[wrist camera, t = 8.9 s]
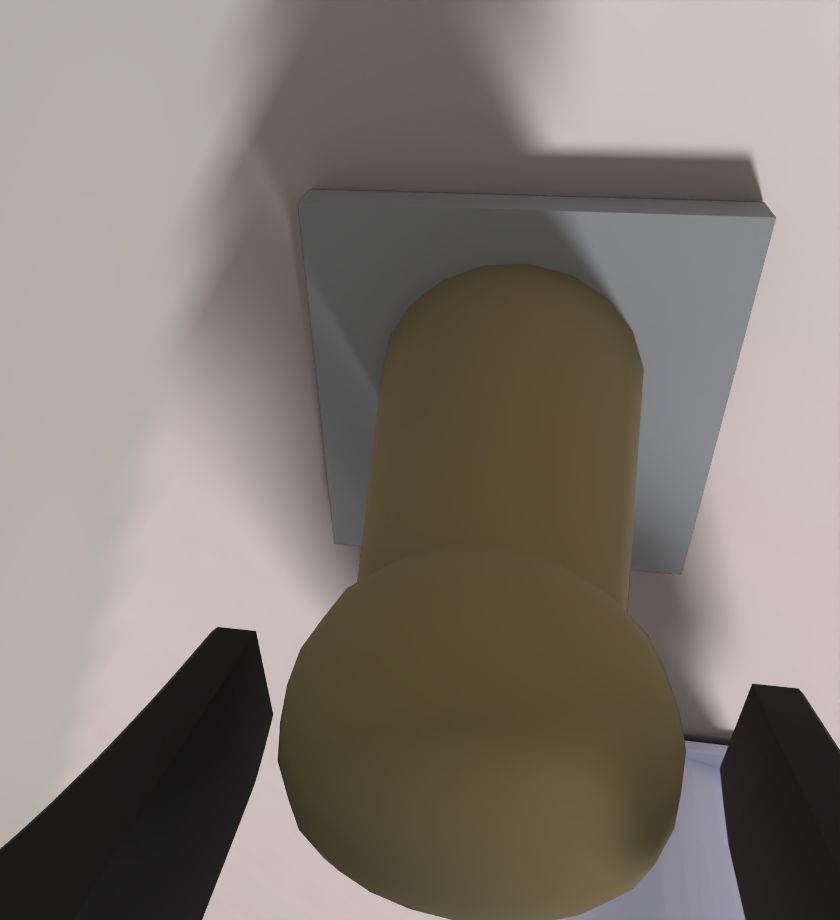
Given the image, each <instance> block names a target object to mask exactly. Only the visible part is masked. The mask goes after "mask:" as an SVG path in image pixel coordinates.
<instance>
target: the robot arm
mask: <svg viewBox="0 0 840 920" xmlns="http://www.w3.org/2000/svg"><path fill="white" fill-rule="evenodd" d="M272 717H273V712H272V707H271V702H270V697H269V692H268V687H267V683H266V678H265V673H264V668H263V663H262V659H261V654H260V649H259V644H258V639H257V634H256V631H250V630H240V629H231V628H221V627H217V628H216V629H215V630H213V631H212V632H211V633H210V634H209V635H208V637H207V638H206V639H205V640H204V641H203V642H202V644H201V645H200V646H199V647H198V648H197V649H196V650H195V652H194V653H193V654H192V655H191V656H190V657H189V659H188V660H187V661H186V662H185V663H184V664H183V665H182V667H181V668H180V669H179V670H178V671H177V672H176V673H175V675H174V676H173V677H172V678H171V679H170V680H169V681H168V682H167V684H166V685H165V686H164V687H163V688H162V689H161V690H160V691H159V693H158V694H157V695H156V696H155V697H154V698H153V699H152V700H151V701H150V703H149V704H148V705H147V706H146V707H145V708H144V709H143V710H142V711H141V712H140V713H139V714H138V715H137V716H136V718H135V719H134V720H133V721H132V722H131V723H130V724H129V725H128V726H127V727H126V728H125V729H124V730H123V731H122V732H121V734H120V735H119V736H118V737H117V738H116V739H115V740H114V741H113V742H112V743H111V744H110V745H109V746H108V747H107V748H106V749H105V750H104V751H103V752H102V753H101V754H100V755H99V757H98V758H97V759H96V760H94V761H93V762H92V763H91V764H90V765H89V766H88V767H87V768H86V769H85V770H84V771H83V772H82V773H81V774H80V775H79V776H78V777H77V778H76V779H75V780H74V781H73V782H72V783H71V784H70V785H69V786H68V787H67V788H66V789H65V790H64V791H63V792H62V793H61V794H60V795H59V796H58V797H57V798H56V799H55V800H54V801H53V802H52V803H51V804H49V805H48V806H47V807H46V808H45V809H44V810H43V811H42V812H41V813H40V814H39V815H38V816H37V817H35V818H34V819H33V820H32V821H31V822H30V823H29V824H28V825H27V826H26V827H25V828H24V829H22V830H21V831H20V832H19V833H18V834H17V835H16V836H14V837H13V838H12V839H11V840H10V841H9V842H8V843H7V844H5V845H4V846H3V847H2V848H1V849H0V920H202V918H203V916H204V913H205V911H206V908H207V906H208V903H209V901H210V898H211V895H212V893H213V890H214V888H215V885H216V883H217V880H218V877H219V875H220V872H221V870H222V867H223V865H224V862H225V860H226V857H227V854H228V852H229V849H230V847H231V844H232V842H233V839H234V836H235V834H236V831H237V829H238V826H239V823H240V821H241V818H242V816H243V813H244V810H245V808H246V805H247V803H248V800H249V797H250V795H251V792H252V789H253V787H254V784H255V781H256V778H257V774H258V771H259V767H260V763H261V760H262V756H263V752H264V749H265V745H266V741H267V737H268V733H269V729H270V725H271V721H272ZM685 746H686V757H685V766H684V774H683V782H682V791H681V797H680V802H679V807H678V812H677V817H676V823H675V828H674V830H673V832H672V834H671V836H670V838H669V840H668V841H667V843H666V845H665V847H664V849H663V851H662V853H661V854H660V856H659V858H658V860H657V862H656V864H655V865H654V866H653V867H652V868H651V870H650V871H649V872H648V873H647V874H646V875H645V876H644V877H643V878H642V880H641V881H640V882H639V883H638V884H637V885H636V886H635V887H634V888H633V890H631V891H629V892H627V893H625V894H623V895H621V896H619V897H617V898H615V899H613V900H611V901H608V902H606V903H604V904H602V905H600V906H598V907H596V908H594V909H592V910H590V911H587V912H585V913H583V914H580V915H577V916H572V917H568V918H563V919H559V920H840V749H839V748H838V746H837V745H836V743H835V742H834V740H833V739H832V737H831V736H830V734H829V733H828V731H827V730H826V728H825V727H824V725H823V723H822V722H821V720H820V719H819V717H818V716H817V714H816V713H815V711H814V710H813V708H812V706H811V705H810V703H809V702H808V700H807V699H806V697H805V696H804V694H803V693H802V692H801V691H800V690H799V689H797V688H787V687H778V686H768V685H759V684H752V686H751V688H750V691H749V694H748V696H747V699H746V701H745V704H744V707H743V709H742V712H741V714H740V717H739V719H738V722H737V725H736V727H735V730H734V732H733V735H732V738H731V740H730V743H729V745H728V746H727V745H719V744H710V743H701V742H693V741H685Z"/></svg>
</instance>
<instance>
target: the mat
mask: <svg viewBox="0 0 840 920" xmlns="http://www.w3.org/2000/svg"><path fill="white" fill-rule="evenodd" d="M298 211H299V220H300V230H301V239H302V248H303V258H304V267H305V276H306V285H307V295H308V304H309V313H310V323H311V332H312V341H313V351H314V360H315V369H316V379H317V388H318V397H319V407H320V416H321V425H322V434H323V444H324V453H325V462H326V472H327V481H328V490H329V500H330V509H331V518H332V528H333V537H334V544H342V545H353V546H362V538H363V529H364V521H365V512H366V504H367V495H368V486H369V478H370V469H371V461H372V452H373V444H374V435H375V426H376V418H377V409H378V401H379V392H380V383H381V375H382V369H383V364H384V360H385V355H386V351H387V346H388V342H389V337H390V336H391V334H392V333H393V331H394V329H395V328H396V326H397V325H398V323H399V322H400V320H401V319H402V317H403V315H404V314H405V312H406V311H407V309H408V308H409V306H410V305H411V304H412V303H414V302H415V301H416V300H417V299H419V298H420V297H421V296H423V295H424V294H425V293H426V292H428V291H429V290H430V289H432V288H433V287H434V286H435V285H437V284H438V283H439V282H441V281H442V280H444V279H447V278H450V277H452V276H455V275H458V274H461V273H464V272H466V271H469V270H472V269H475V268H478V267H481V266H483V265H508V264H532V265H535V266H539V267H543V268H546V269H550V270H554V271H557V272H561V273H565V274H568V275H572V276H574V277H575V278H577V279H578V280H580V281H581V282H583V283H584V284H586V285H587V286H589V287H590V288H592V289H593V290H595V291H596V292H598V293H599V294H601V295H603V296H604V297H606V298H607V299H609V301H610V302H611V303H612V305H613V306H614V307H615V309H616V310H617V311H618V313H619V314H620V315H621V317H622V318H623V319H624V321H625V322H626V323H627V324H628V326H629V327H630V328H631V330H632V331H633V333H634V336H635V340H636V343H637V347H638V350H639V354H640V357H641V360H642V364H643V367H644V375H643V390H642V404H641V419H640V433H639V448H638V462H637V477H636V491H635V506H634V521H633V535H632V550H631V564H630V570H634V571H646V572H657V573H668V574H679V575H681V574H682V570H683V566H684V562H685V559H686V555H687V551H688V547H689V544H690V540H691V536H692V532H693V529H694V525H695V521H696V517H697V513H698V510H699V506H700V502H701V498H702V495H703V491H704V487H705V483H706V480H707V476H708V472H709V468H710V465H711V461H712V457H713V453H714V449H715V446H716V442H717V438H718V434H719V431H720V427H721V423H722V419H723V416H724V412H725V408H726V404H727V400H728V397H729V393H730V389H731V385H732V382H733V378H734V374H735V370H736V367H737V363H738V359H739V355H740V351H741V348H742V344H743V340H744V336H745V333H746V329H747V325H748V321H749V318H750V314H751V310H752V306H753V302H754V299H755V295H756V291H757V287H758V284H759V280H760V276H761V272H762V269H763V265H764V261H765V257H766V253H767V250H768V246H769V242H770V238H771V235H772V231H773V227H774V223H775V220H776V217H775V216H774V214H773V213H772V212H771V210H770V209H769V208H768V207H767V205H766V204H765V203H764V202H741V201H706V200H671V199H635V198H600V197H565V196H530V195H494V194H459V193H424V192H388V191H353V190H318V189H310V190H309V191H308V192H307V193H306V194H305V195H304V197H303V198H302V199H301V200H300V201H299V202H298Z"/></svg>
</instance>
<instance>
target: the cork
mask: <svg viewBox="0 0 840 920" xmlns="http://www.w3.org/2000/svg"><path fill="white" fill-rule="evenodd" d="M643 375H644V367H643V364H642V360H641V357H640V354H639V350H638V347H637V343H636V340H635V336H634V333H633V331H632V330H631V328H630V327H629V326H628V324H627V323H626V322H625V321H624V319H623V318H622V317H621V315H620V314H619V313H618V311H617V310H616V309H615V307H614V306H613V305H612V303H611V302H610V301H609V299H607V298H606V297H604V296H603V295H601V294H599V293H598V292H596V291H595V290H593V289H592V288H590V287H589V286H587V285H586V284H584V283H583V282H581V281H580V280H578V279H577V278H575V277H574V276H572V275H568V274H565V273H561V272H557V271H554V270H550V269H546V268H543V267H539V266H535V265H532V264H508V265H483V266H481V267H478V268H475V269H472V270H469V271H466V272H464V273H461V274H458V275H455V276H452V277H450V278H447V279H444V280H442V281H441V282H439V283H438V284H437V285H435V286H434V287H433V288H432V289H430V290H429V291H428V292H426V293H425V294H424V295H423V296H421V297H420V298H419V299H417V300H416V301H415V302H414V303H412V304H411V305H410V306H409V308H408V309H407V311H406V312H405V314H404V315H403V317H402V319H401V320H400V322H399V323H398V325H397V326H396V328H395V329H394V331H393V333H392V334H391V336H390V337H389V342H388V346H387V351H386V355H385V360H384V364H383V369H382V375H381V383H380V392H379V401H378V409H377V418H376V426H375V435H374V444H373V452H372V461H371V469H370V478H369V486H368V495H367V504H366V512H365V521H364V529H363V538H362V547H361V555H360V564H359V572H358V581H357V583H356V584H354V585H352V586H350V587H348V588H347V589H346V590H345V592H344V593H343V594H342V595H341V597H340V598H339V599H338V600H337V602H336V603H335V604H334V605H333V606H332V608H331V609H330V610H329V611H328V613H327V614H326V615H325V616H324V618H323V619H322V620H321V622H320V623H319V624H318V626H317V627H316V629H315V630H314V631H313V633H312V634H311V635H310V637H309V638H308V639H307V641H306V642H305V644H304V645H303V646H302V648H301V649H300V652H299V655H298V657H297V660H296V663H295V665H294V668H293V671H292V673H291V676H290V679H289V681H288V684H287V689H286V694H285V699H284V705H283V710H282V715H281V721H280V734H279V749H278V763H279V767H280V771H281V774H282V778H283V781H284V785H285V789H286V792H287V796H288V799H289V802H290V805H291V808H292V811H293V814H294V817H295V820H296V822H297V825H298V828H299V830H300V831H301V833H302V834H303V835H304V836H305V837H306V838H307V839H308V841H309V842H310V843H311V844H312V845H313V846H314V847H315V848H316V850H317V851H318V852H319V853H320V854H321V855H322V856H323V858H325V859H326V860H327V861H328V862H329V863H330V864H332V865H333V866H334V867H335V868H336V869H338V870H339V871H340V872H342V873H343V874H345V875H346V876H348V877H349V878H351V879H352V880H353V881H355V882H356V883H358V884H359V885H361V886H362V887H364V888H365V889H367V890H368V891H370V892H372V893H374V894H376V895H379V896H381V897H383V898H386V899H388V900H390V901H393V902H395V903H397V904H400V905H402V906H404V907H407V908H409V909H412V910H416V911H420V912H424V913H428V914H432V915H435V916H439V917H443V918H447V919H451V920H559V919H563V918H568V917H572V916H577V915H580V914H583V913H585V912H587V911H590V910H592V909H594V908H596V907H598V906H600V905H602V904H604V903H606V902H608V901H611V900H613V899H615V898H617V897H619V896H621V895H623V894H625V893H627V892H629V891H631V890H633V888H634V887H635V886H636V885H637V884H638V883H639V882H640V881H641V880H642V878H643V877H644V876H645V875H646V874H647V873H648V872H649V871H650V870H651V868H652V867H653V866H654V865H655V864H656V862H657V860H658V858H659V856H660V854H661V853H662V851H663V849H664V847H665V845H666V843H667V841H668V840H669V838H670V836H671V834H672V832H673V830H674V828H675V823H676V817H677V812H678V807H679V802H680V797H681V791H682V782H683V774H684V766H685V757H686V746H685V741H684V735H683V730H682V724H681V719H680V713H679V708H678V706H677V703H676V700H675V697H674V695H673V692H672V689H671V686H670V683H669V681H668V678H667V675H666V672H665V670H664V667H663V665H662V663H661V661H660V659H659V657H658V655H657V653H656V651H655V649H654V647H653V645H652V643H651V641H650V639H649V637H648V635H647V633H646V632H645V631H644V630H643V629H642V628H641V627H640V626H639V625H638V624H637V622H636V621H635V620H634V619H633V618H632V617H631V616H630V615H629V614H628V613H627V608H628V593H629V579H630V564H631V550H632V535H633V521H634V506H635V491H636V477H637V462H638V448H639V433H640V419H641V404H642V390H643Z"/></svg>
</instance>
